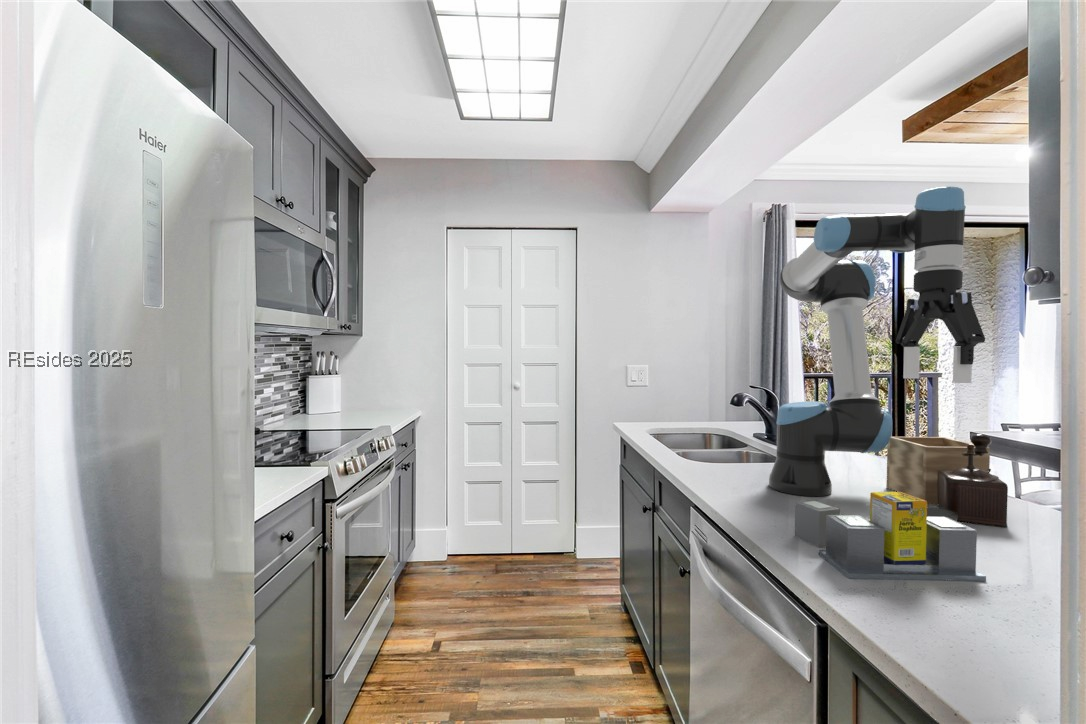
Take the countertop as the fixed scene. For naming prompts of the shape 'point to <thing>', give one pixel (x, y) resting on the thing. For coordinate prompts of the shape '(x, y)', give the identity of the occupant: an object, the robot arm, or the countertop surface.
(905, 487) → the bottle crate
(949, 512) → the black sponge
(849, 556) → the rail panel
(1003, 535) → the countertop surface
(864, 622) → the countertop surface
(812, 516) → the module
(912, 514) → the supplement box
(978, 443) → the manual coffee grinder
